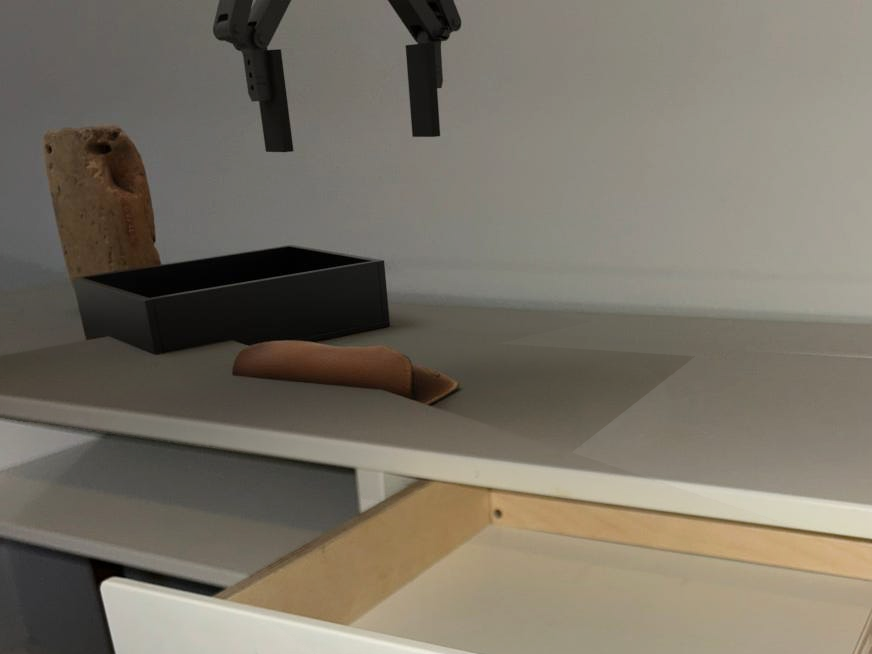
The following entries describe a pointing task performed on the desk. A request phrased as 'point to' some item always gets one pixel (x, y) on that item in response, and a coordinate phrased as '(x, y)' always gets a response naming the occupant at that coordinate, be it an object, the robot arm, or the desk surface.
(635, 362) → the desk surface
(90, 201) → the block
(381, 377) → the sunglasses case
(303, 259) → the open box
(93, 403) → the desk surface
